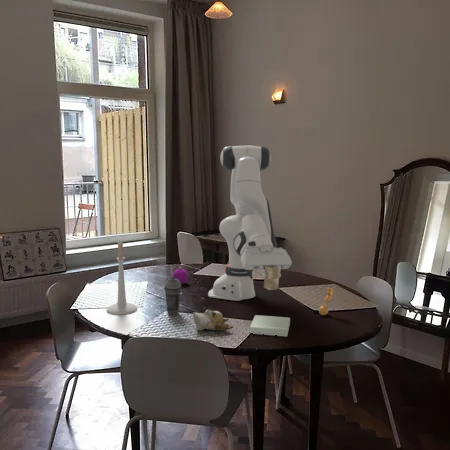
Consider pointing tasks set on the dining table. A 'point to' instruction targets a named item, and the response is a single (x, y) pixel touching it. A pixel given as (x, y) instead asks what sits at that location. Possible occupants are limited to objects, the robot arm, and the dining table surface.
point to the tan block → (271, 278)
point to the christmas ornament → (180, 275)
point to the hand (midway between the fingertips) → (272, 277)
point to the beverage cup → (173, 295)
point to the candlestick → (121, 290)
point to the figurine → (323, 309)
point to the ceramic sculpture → (210, 320)
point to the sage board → (270, 325)
